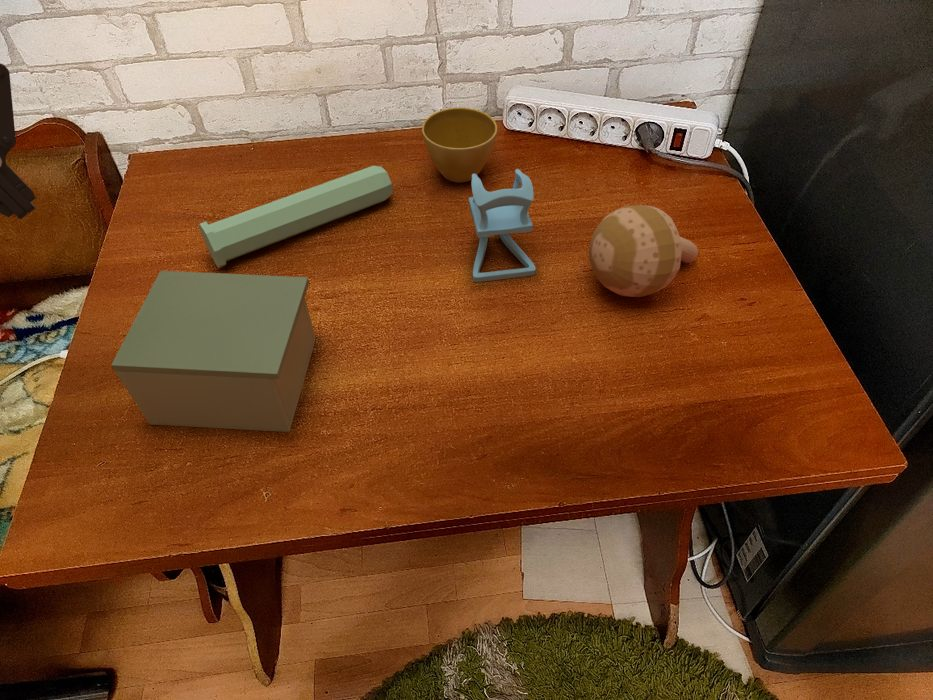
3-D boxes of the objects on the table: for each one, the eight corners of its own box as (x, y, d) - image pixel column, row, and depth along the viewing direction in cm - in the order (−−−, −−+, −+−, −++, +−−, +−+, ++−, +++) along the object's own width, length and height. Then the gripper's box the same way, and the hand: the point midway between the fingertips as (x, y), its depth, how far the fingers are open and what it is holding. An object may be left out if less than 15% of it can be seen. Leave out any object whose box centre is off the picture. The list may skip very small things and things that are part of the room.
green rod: (380, 149, 90) (195, 214, 81) (402, 184, 89) (216, 254, 80) (376, 175, 96) (202, 239, 87) (396, 209, 94) (222, 277, 85)
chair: (522, 231, 89) (527, 151, 79) (536, 275, 83) (543, 195, 74) (463, 238, 88) (461, 158, 79) (473, 283, 83) (473, 202, 73)
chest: (316, 338, 77) (300, 282, 70) (289, 432, 69) (269, 379, 62) (190, 332, 78) (163, 276, 71) (149, 424, 70) (114, 371, 63)
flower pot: (509, 165, 98) (510, 120, 93) (472, 202, 93) (471, 157, 87) (450, 144, 102) (448, 100, 96) (411, 179, 96) (407, 134, 91)
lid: (309, 283, 70) (308, 277, 70) (279, 379, 62) (277, 373, 62) (163, 276, 71) (160, 270, 71) (114, 371, 63) (110, 365, 62)
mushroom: (736, 262, 80) (671, 243, 69) (671, 321, 85) (601, 312, 75) (685, 201, 85) (617, 175, 74) (626, 261, 90) (556, 244, 80)
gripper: (-308, 54, 39) (-45, 276, 50) (-96, -63, 43) (106, 170, 53) (-280, 51, 45) (-49, 252, 56) (-94, -52, 48) (89, 157, 59)
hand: (27, 211), depth 55 cm, fingers closed
